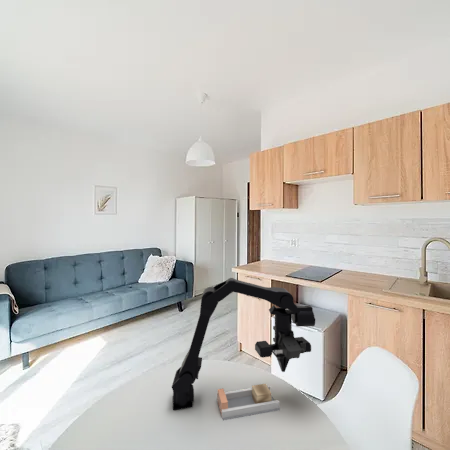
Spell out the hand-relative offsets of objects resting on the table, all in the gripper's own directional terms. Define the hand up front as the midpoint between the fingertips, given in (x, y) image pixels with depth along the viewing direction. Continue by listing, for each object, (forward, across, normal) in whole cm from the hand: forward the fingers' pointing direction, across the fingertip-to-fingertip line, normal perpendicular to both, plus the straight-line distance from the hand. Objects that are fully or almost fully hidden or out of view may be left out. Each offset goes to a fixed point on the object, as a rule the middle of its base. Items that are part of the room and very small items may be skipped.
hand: (282, 371), depth 83 cm
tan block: (+9, -8, 0) cm, 12 cm away
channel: (+10, -13, 0) cm, 16 cm away
